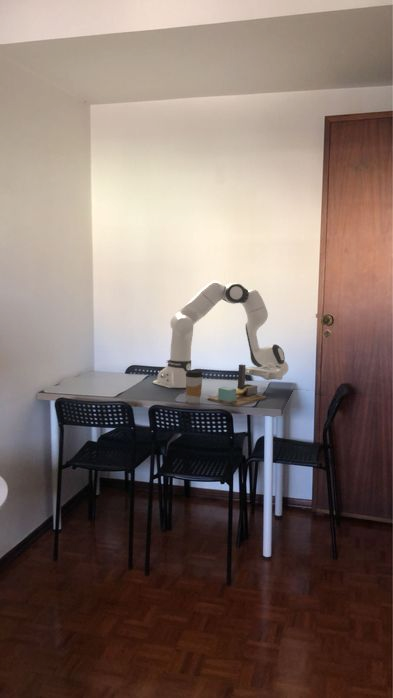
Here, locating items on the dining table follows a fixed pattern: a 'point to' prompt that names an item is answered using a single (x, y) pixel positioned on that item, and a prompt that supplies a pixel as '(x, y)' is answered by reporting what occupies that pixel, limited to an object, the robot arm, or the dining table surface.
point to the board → (239, 400)
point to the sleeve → (250, 390)
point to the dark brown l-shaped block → (241, 381)
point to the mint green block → (227, 394)
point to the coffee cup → (193, 386)
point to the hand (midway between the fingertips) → (254, 374)
